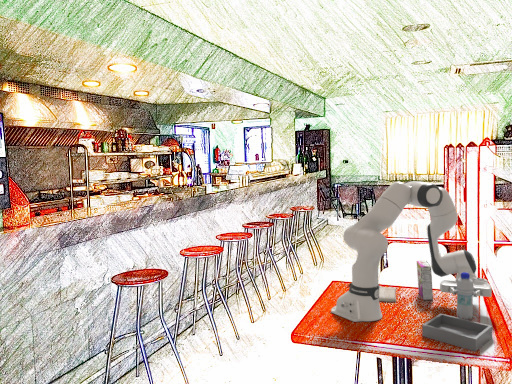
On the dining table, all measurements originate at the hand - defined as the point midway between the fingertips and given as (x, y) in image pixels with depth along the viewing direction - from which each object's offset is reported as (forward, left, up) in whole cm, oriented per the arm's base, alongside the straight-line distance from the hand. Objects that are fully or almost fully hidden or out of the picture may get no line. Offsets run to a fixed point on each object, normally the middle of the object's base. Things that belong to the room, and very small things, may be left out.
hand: (464, 294), depth 191 cm
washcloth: (-41, +5, -12) cm, 43 cm away
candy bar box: (-25, +17, -11) cm, 32 cm away
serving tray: (+5, -19, -11) cm, 23 cm away
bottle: (0, +1, -11) cm, 11 cm away
